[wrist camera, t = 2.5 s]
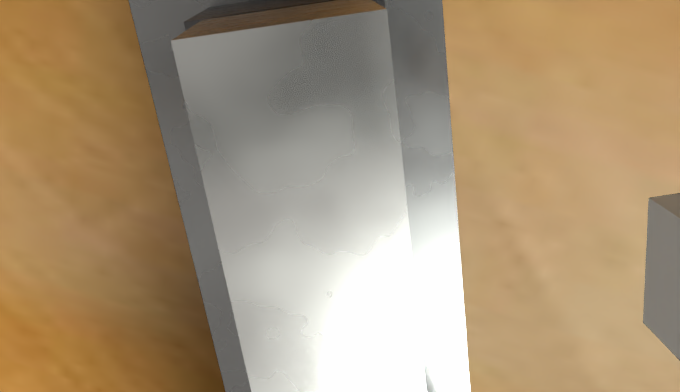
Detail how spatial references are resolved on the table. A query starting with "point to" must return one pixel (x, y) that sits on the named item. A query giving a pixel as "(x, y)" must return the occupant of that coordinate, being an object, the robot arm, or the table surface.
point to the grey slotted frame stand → (418, 164)
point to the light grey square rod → (307, 193)
